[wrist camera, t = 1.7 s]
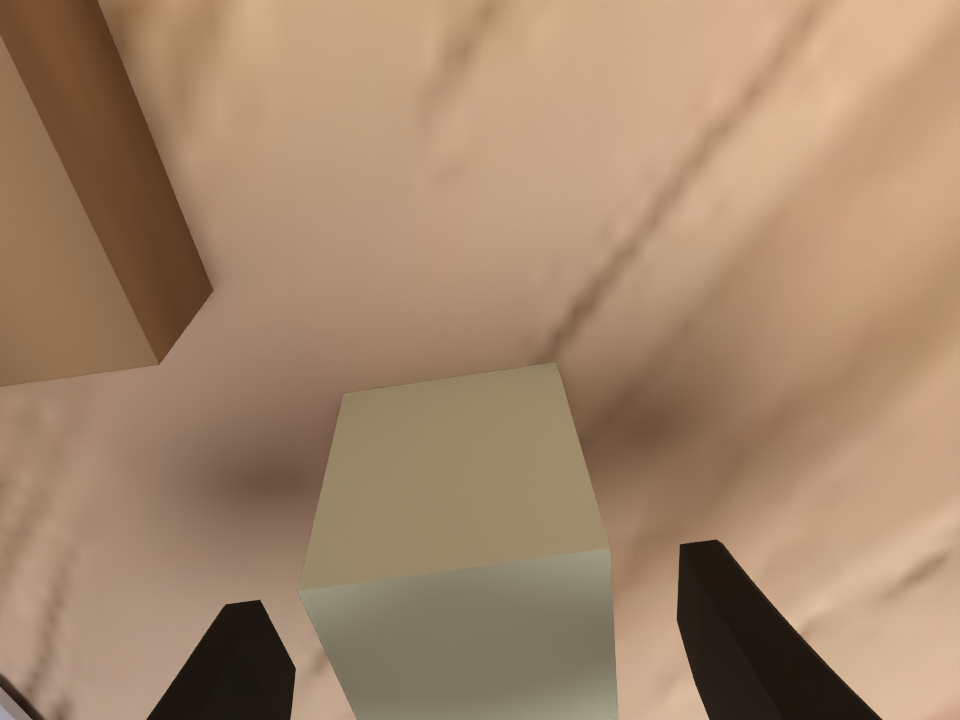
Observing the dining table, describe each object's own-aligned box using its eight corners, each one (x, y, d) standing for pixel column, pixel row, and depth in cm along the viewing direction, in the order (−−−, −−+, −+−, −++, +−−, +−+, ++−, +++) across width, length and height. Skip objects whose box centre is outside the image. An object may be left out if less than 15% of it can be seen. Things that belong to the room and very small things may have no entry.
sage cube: (390, 538, 16) (371, 750, 11) (343, 391, 13) (297, 591, 9) (570, 512, 15) (618, 718, 11) (555, 360, 13) (609, 548, 9)
